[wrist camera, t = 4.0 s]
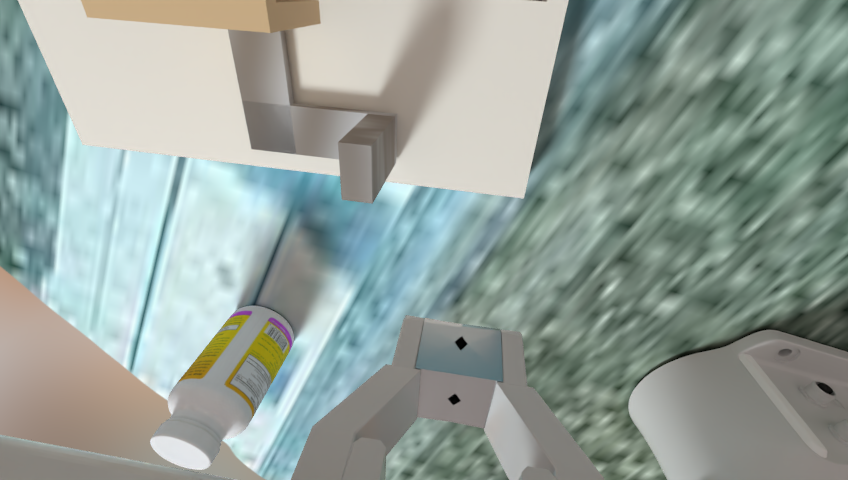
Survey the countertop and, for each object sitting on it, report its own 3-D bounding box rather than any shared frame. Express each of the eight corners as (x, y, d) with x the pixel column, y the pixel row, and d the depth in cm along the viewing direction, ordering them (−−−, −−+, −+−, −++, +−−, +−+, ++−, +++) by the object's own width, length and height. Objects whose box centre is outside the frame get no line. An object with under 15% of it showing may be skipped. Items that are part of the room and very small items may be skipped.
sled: (402, -175, 16) (363, -244, 11) (396, 162, 24) (372, 203, 19) (178, -181, 17) (57, -247, 12) (245, 144, 25) (188, 179, 20)
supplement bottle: (231, 334, 40) (136, 457, 30) (237, 292, 37) (132, 415, 26) (291, 357, 41) (219, 486, 30) (302, 318, 37) (226, 449, 27)
